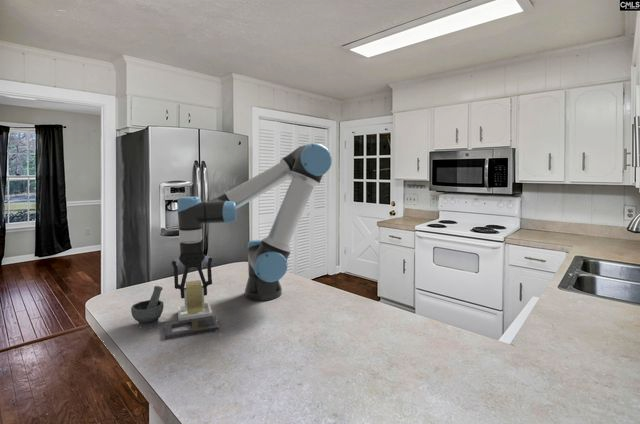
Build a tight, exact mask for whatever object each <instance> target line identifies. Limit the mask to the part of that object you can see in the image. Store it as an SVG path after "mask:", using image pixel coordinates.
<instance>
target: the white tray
mask: <svg viewBox="0 0 640 424" xmlns="http://www.w3.org/2000/svg"><path fill="white" fill-rule="evenodd" d="M209 316H213V310H212V307H211V303H210V302H209V301H207V302H204V306H203V312H197V313H190V314H188V312H187V308H185V304H184V305H178V306H177V321H183V320H189V319H196V318H203V317H209Z"/></svg>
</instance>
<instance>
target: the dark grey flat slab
mask: <svg viewBox="0 0 640 424" xmlns="http://www.w3.org/2000/svg"><path fill="white" fill-rule="evenodd" d="M186 326H191V328H189V329H188V328H187V329H182V330H178V331H177V330H176V331H173V329H174V328H179V327H186ZM219 330H220V329H219V324H218V321H217V317H216V315H212V316H209V317H203V318H196V319H189V320H183V321H178V320H177V321H172V322H171V321H168V322H165V326H164V340H170V339H175V338H183V337H190V336H195V335H200V334H206V333H212V332H218V331H219Z"/></svg>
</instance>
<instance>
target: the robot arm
mask: <svg viewBox="0 0 640 424" xmlns="http://www.w3.org/2000/svg"><path fill="white" fill-rule="evenodd" d="M332 160H333V159H332V155H331V152H330V150H329V149H328V148H327V147H326V146H324V144H320V143H315V142H313V143H312V142H311V143H308V144H305V145H300V146H299V147H297V148H295V149H294V150H293V151H292V152H290V153H288V154H287V155H286V156H284V157H283V158H281V159H280V160H279V163H276V164H275V165H273V166H271V167H269V168H268V169H266V170H264V171H261V173H259V174H257V175H255V176H254V177H252V178H249V179H247V180H246V181H244V182H243V183H240V184H239V185H237V186H235V187H234V188H232V189H230V190H228V191H225V192H224V193H223V194H221V195H220V196H217V197H214V198H212V199H210V200H209V201H202V199H201V197H200V196H182V197H179V198H178V200H177V216H178V217H177V218H178V229H179V230H178V233H179V234H178V236H179V241H180V243H179V251H180V254H179V257H178V258H175V259H171V265H172V267H173V277H174V279H173V280H174V289H175V290H180V299H182V300H183V299H184V305H185V308H187V293H186V282H187V277H188V273H189V269H191V268H195V269H197V272H198V274H199V277H200V278H199V279H200V280H201V284H202V285H201V286H202V306H204V303H205V296H208V286H209V285H210V286H211V285H213V277H212V276H213V275H212V262H213V257H212V255H209V256H208V255H205V253H204V244H203V241H202V240H203V225H202V224H220V223H221V224H223V223H224V224H225V223H233V222H236V221H237V217H238V216H237V213H238V211H237V209H239V208H241V207H242V206H244V205H246V204H248V203H250V202H252V201H253V200H254V199H256V198H258V197H260V196H262V195H263V194H265V193H267V192H269V191H271V190H273V189H274V188H276V187H278V186H280V185H281V184H283V183H285V182H287V181H288V180H290V184H289V185H288V188H287V190H286V192H285V195H284V198H283V200H282V203H281V205H280V207H279V209H278V212H277V215H276V216H275V218H274V220H273V224H272V226H271V229H270V230H269V234H268V235H267V236H266V237H264V238H262V239H254V240H253V239H252V240H249V241H248V243H247V249H246V250H247V263H248V264H247V265H248V269H247V271H248V279H247V282H246V285H245V289H244V297H245V298H246V299H249V300H250V301H269V300H274V299H277V298H279V297H280V296H281V295H282V294H283V293H282V291H283V289H282V285H281V283H280V280H281V279H282V278H283V277H284V276H285V275H286V273H287V271H288V266H289V265H288V264H289V263H288V258H289V256H290V255H291V252H292V250H291V248H290V244H291V241H292V239H293V238H294V237H293V236H294V234H295V232H296V230H297V227H298V225H299V223H300V220H301V218H302V215H303V212H304V210H305V209H306V205H307V204H308V201H309V199H310V196H311V194H312V191H313V189H314V188H315V187H317V186H318V185H320V183H321V180H322V179H323V176H324V175H326V173H327V172H329V170H330V169H331V167H332V162H333V161H332ZM204 260H205V263H206V268H207V269H206V271H207V272H206V273H207V280H206V279H205V275H204V272H203V269H202V266H201V264H202V263H203V262H204ZM180 263H181V264H182V265H183V266H184V269H183V271H182V272H183V273H182V276H181V282H180V283H179V268H178V267H179V265H180Z"/></svg>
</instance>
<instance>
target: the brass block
mask: <svg viewBox="0 0 640 424" xmlns="http://www.w3.org/2000/svg"><path fill="white" fill-rule="evenodd" d="M202 286H203V285H202V281H201V279H199V280H197V279H196V280H191V281H190V280H189V281H186V282H185V288H186V293H187V312H188V314H190V313H197V312H203V306H202Z"/></svg>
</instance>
